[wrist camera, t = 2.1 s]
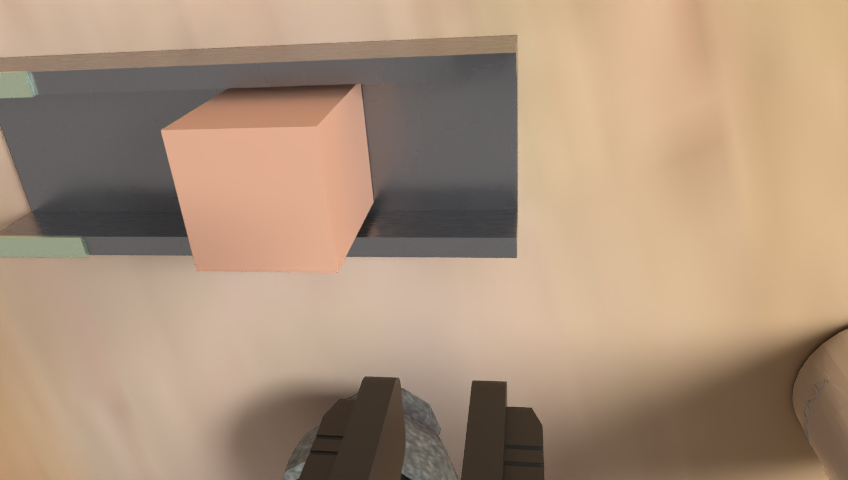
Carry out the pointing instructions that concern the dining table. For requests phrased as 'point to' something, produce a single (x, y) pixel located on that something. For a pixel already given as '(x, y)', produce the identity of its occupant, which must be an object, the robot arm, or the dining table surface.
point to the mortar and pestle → (424, 453)
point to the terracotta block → (272, 177)
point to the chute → (265, 67)
